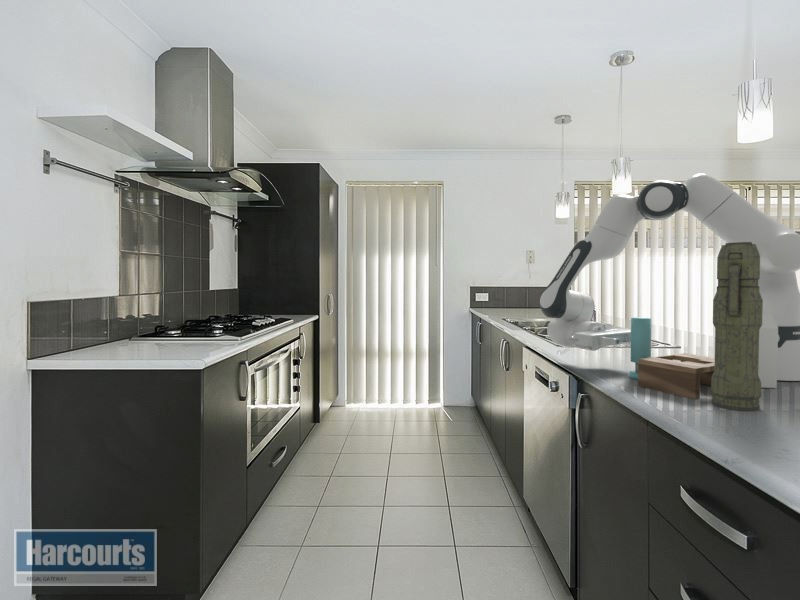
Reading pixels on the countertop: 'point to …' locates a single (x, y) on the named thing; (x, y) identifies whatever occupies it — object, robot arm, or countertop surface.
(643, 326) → the teal necked cylinder
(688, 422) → the countertop surface
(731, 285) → the thermos
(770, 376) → the milk carton
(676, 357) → the keyhole bridge
